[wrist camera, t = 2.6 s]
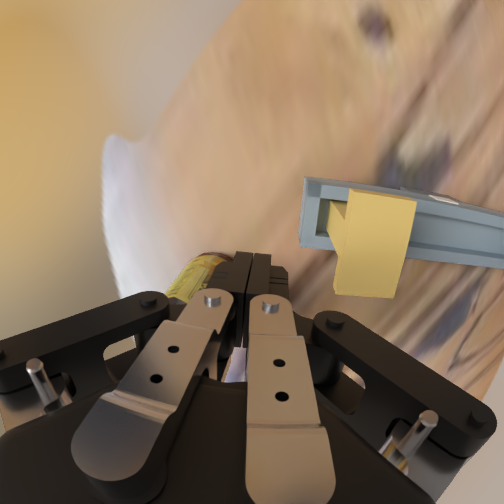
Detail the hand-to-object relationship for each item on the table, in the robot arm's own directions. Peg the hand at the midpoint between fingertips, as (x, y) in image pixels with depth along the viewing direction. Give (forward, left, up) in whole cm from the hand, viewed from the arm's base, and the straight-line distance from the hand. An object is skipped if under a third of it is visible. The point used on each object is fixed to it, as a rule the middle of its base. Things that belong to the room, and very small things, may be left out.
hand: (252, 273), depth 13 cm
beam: (0, +16, -17) cm, 23 cm away
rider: (0, +7, -12) cm, 14 cm away
